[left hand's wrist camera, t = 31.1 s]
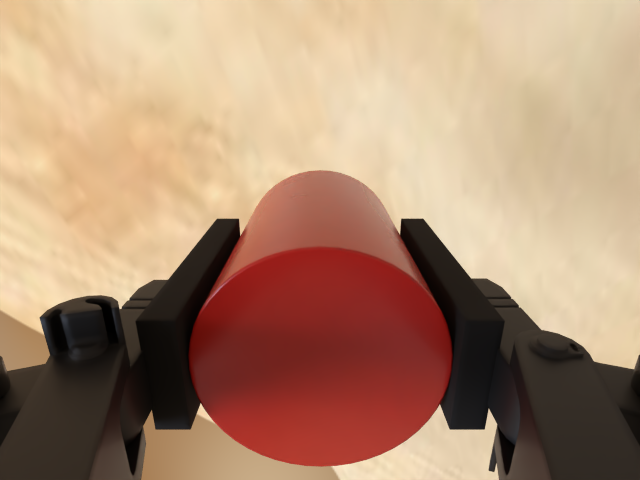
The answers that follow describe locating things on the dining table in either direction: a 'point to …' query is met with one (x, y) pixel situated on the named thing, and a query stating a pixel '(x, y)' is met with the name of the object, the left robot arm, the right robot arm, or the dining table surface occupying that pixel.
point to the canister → (320, 329)
